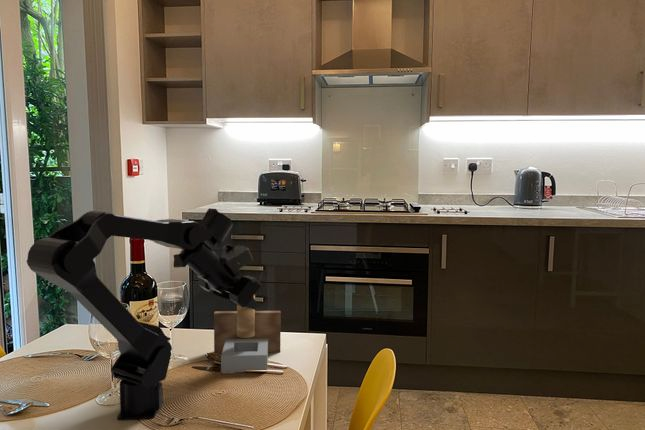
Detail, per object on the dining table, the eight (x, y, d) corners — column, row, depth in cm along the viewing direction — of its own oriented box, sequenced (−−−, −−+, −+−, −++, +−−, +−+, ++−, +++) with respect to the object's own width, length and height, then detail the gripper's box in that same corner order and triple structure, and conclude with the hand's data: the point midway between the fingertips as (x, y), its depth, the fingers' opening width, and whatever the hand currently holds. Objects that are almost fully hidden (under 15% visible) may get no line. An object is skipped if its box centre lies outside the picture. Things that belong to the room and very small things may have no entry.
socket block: (221, 373, 102) (221, 355, 101) (226, 355, 112) (226, 339, 111) (266, 372, 103) (267, 355, 102) (267, 354, 113) (268, 338, 112)
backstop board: (214, 353, 113) (214, 313, 112) (215, 350, 114) (214, 311, 113) (280, 352, 114) (280, 312, 113) (280, 349, 116) (280, 310, 115)
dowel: (236, 337, 104) (236, 283, 103) (237, 331, 108) (238, 279, 107) (254, 337, 105) (254, 283, 103) (255, 331, 109) (255, 279, 107)
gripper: (253, 240, 94) (295, 285, 103) (210, 230, 109) (251, 270, 117) (218, 284, 90) (265, 327, 98) (178, 267, 104) (222, 306, 112)
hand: (251, 305), depth 107 cm, fingers closed on dowel, 4 cm apart
